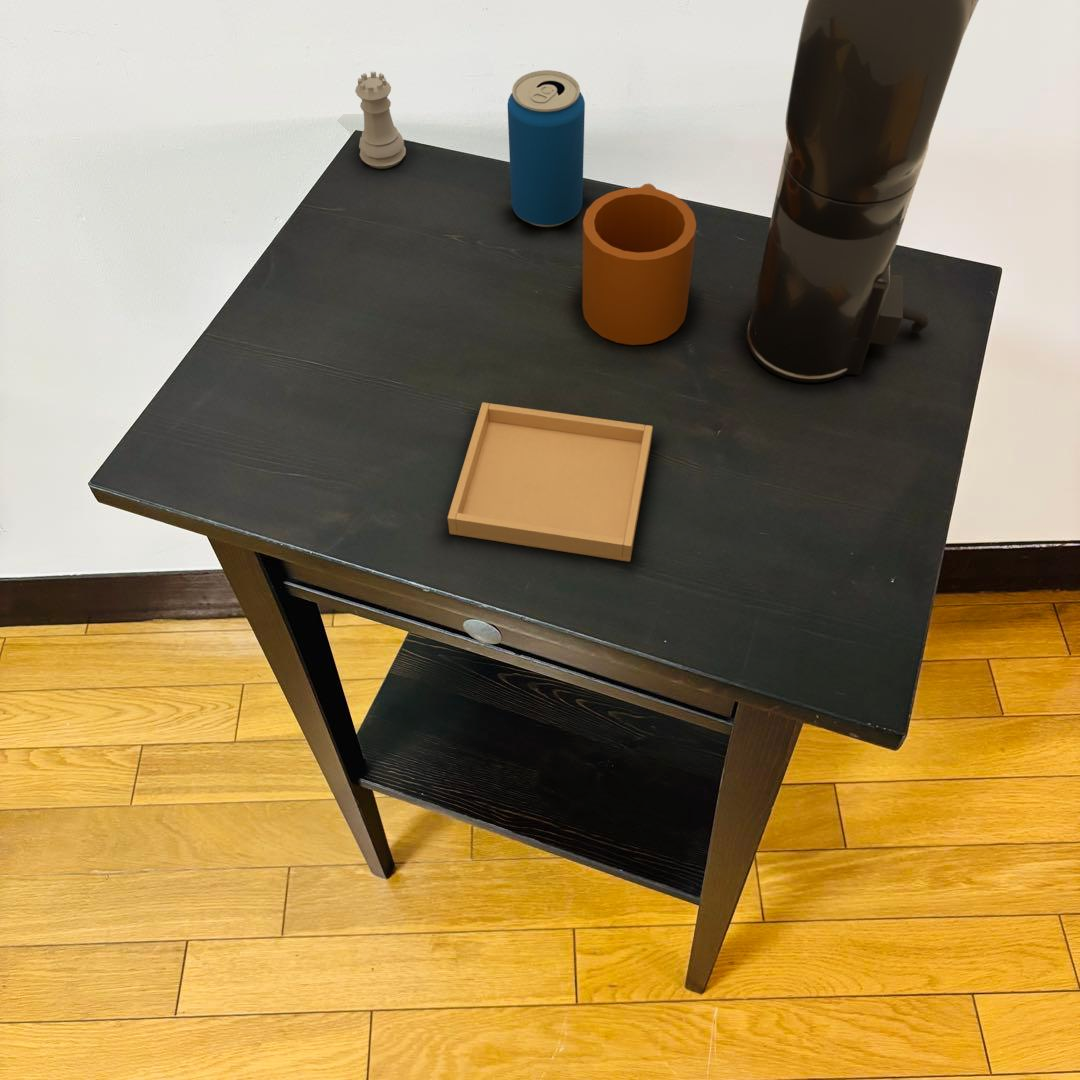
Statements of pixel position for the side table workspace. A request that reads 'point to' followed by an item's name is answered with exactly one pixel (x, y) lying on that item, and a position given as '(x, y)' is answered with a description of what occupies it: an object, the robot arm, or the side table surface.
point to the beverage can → (546, 147)
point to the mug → (637, 264)
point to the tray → (552, 481)
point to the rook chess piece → (378, 124)
